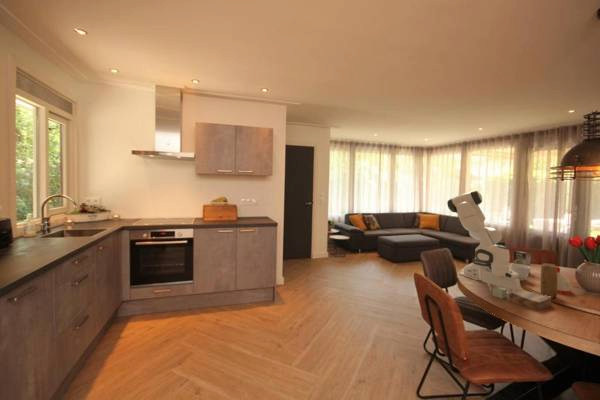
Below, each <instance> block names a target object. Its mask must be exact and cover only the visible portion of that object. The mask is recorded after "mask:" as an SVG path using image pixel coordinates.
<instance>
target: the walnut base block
mask: <svg viewBox="0 0 600 400" xmlns="http://www.w3.org/2000/svg"><path fill="white" fill-rule="evenodd" d="M509 302H510V303H514V304H518V305H520V306H523V307H527V308H530V309H532V310H536V311H541V310H544V309H546V308H549V307H551V306H552V298H550V297H546V296H543V295H541V294H538V293H536V292H531V291H528V290H524V289H521V290H518V291H514V292H511V293H510V296H509Z"/></svg>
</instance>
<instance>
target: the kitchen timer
mask: <svg viewBox="0 0 600 400" xmlns="http://www.w3.org/2000/svg"><path fill="white" fill-rule="evenodd" d="M571 285H572V284H571V281H570V280H568V279H567V278H566V276H565V275H564V274H563V273H561V268H560V266H557V292H561V293H560V294H564V293H568V294H571V293H572V288H571V287H572V286H571Z"/></svg>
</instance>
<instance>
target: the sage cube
mask: <svg viewBox="0 0 600 400" xmlns="http://www.w3.org/2000/svg"><path fill="white" fill-rule="evenodd" d="M492 288H493V291H492V297H496V298H499V299H502V298H503V299H505V298H507V295H506V293H507V288H504V287H500V286H495V287H492Z"/></svg>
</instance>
